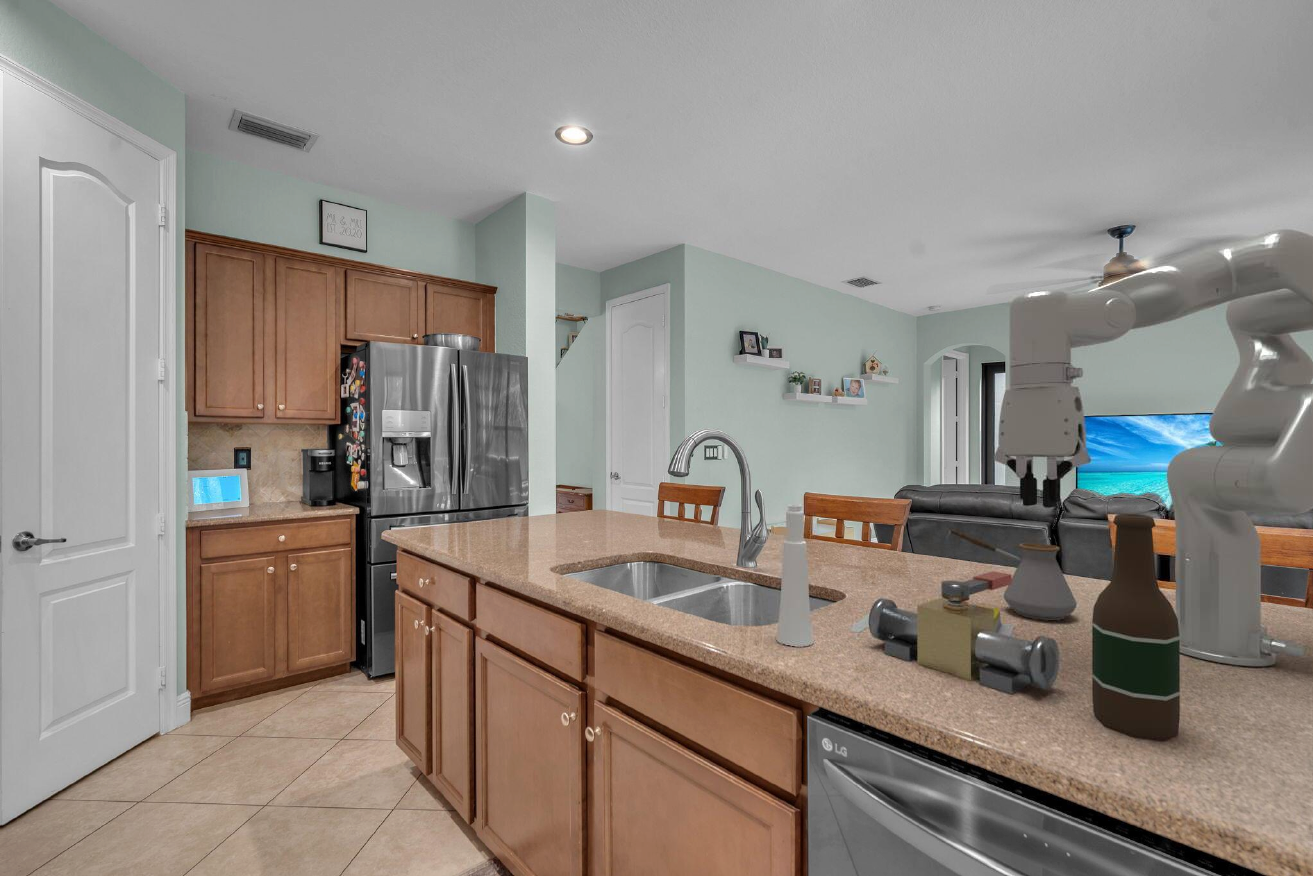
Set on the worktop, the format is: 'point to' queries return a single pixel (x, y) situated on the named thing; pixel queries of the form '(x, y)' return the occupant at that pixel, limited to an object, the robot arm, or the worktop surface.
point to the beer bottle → (1135, 641)
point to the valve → (964, 644)
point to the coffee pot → (1035, 581)
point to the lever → (974, 585)
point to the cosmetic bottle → (794, 585)
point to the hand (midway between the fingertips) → (1039, 505)
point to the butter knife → (861, 624)
